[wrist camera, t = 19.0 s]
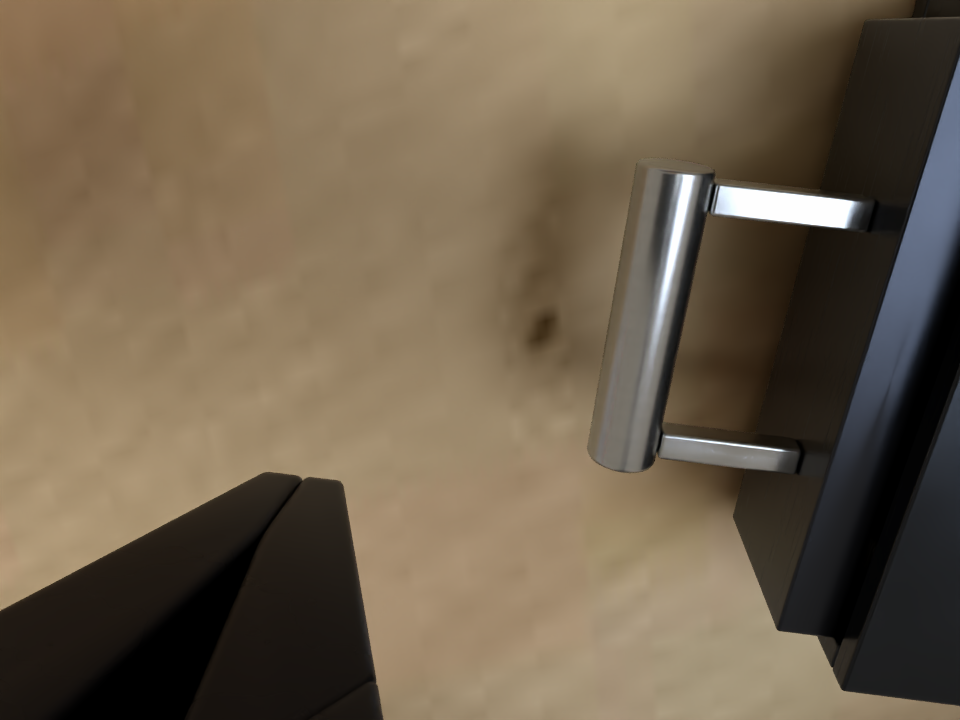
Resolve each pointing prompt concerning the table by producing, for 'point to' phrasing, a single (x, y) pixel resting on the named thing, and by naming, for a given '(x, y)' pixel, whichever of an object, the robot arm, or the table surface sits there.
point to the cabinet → (913, 554)
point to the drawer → (809, 322)
